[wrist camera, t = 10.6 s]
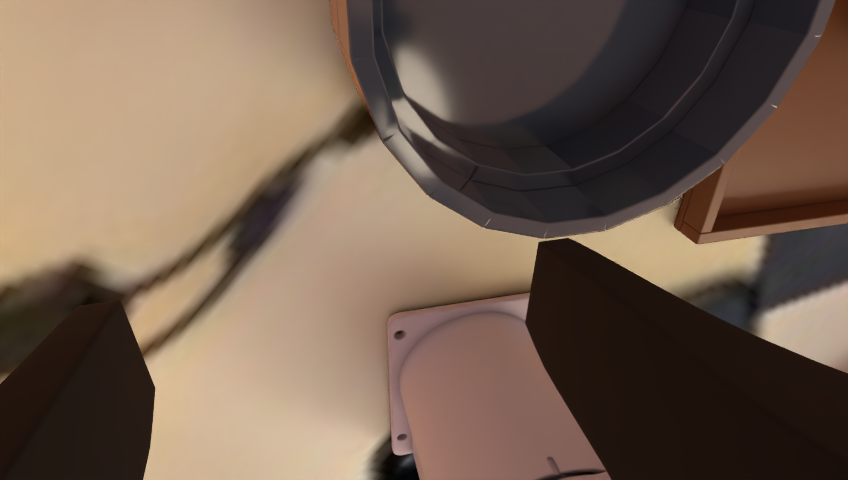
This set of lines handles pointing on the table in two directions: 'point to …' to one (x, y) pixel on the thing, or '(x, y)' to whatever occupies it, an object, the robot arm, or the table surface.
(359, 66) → the bowl
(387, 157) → the table surface
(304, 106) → the table surface
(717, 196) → the tray
